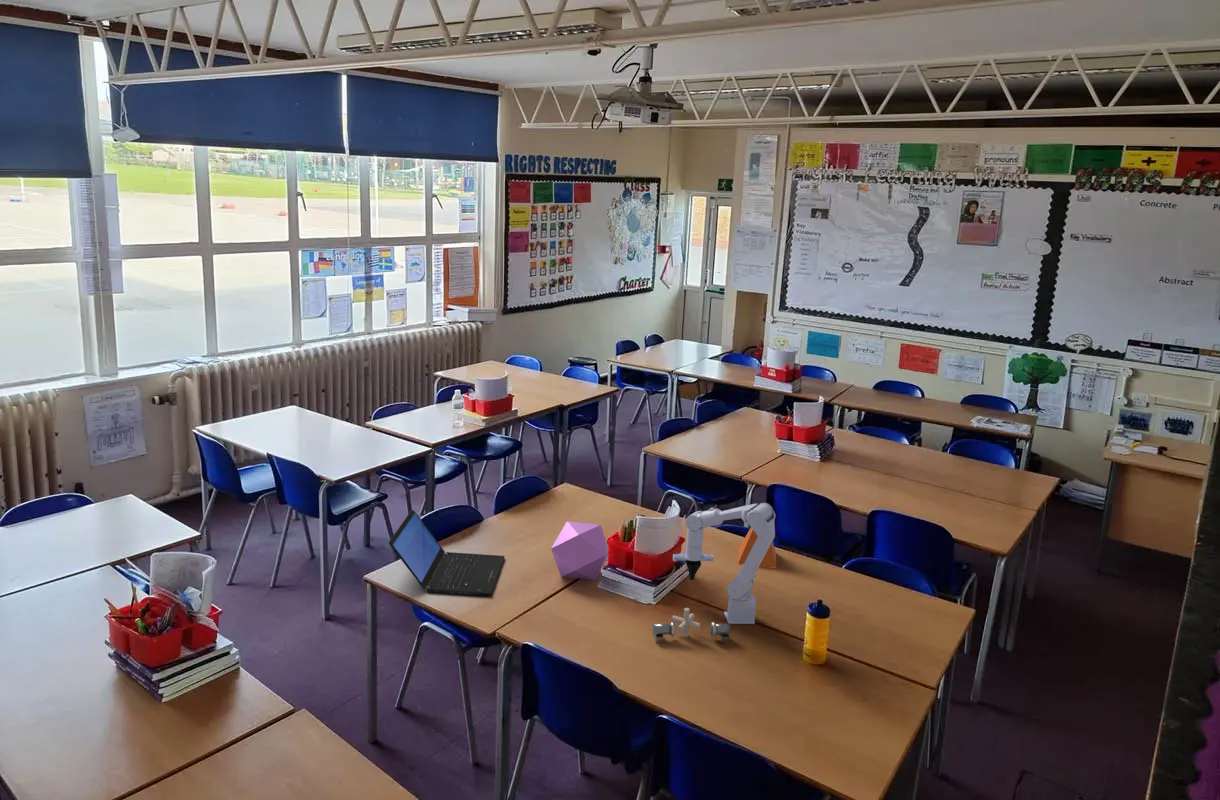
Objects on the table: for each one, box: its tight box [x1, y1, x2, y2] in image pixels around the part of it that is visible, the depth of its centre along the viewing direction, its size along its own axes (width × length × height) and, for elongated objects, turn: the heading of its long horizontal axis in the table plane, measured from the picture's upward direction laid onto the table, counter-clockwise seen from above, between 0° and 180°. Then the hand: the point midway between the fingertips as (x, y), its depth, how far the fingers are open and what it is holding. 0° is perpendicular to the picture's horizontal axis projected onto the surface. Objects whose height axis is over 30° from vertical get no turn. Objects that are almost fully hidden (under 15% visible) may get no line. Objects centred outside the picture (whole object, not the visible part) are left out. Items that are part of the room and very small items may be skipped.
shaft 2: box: [709, 621, 731, 644], centre depth 287 cm, size 6×5×6 cm
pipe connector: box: [671, 607, 702, 638], centre depth 287 cm, size 10×10×10 cm
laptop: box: [388, 509, 505, 597], centre depth 321 cm, size 33×38×19 cm
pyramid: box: [737, 527, 777, 568], centre depth 350 cm, size 16×16×20 cm
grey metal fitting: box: [651, 621, 676, 644], centre depth 285 cm, size 7×5×6 cm
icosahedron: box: [550, 520, 609, 581], centre depth 327 cm, size 22×21×25 cm
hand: (691, 578), depth 310 cm, fingers closed
